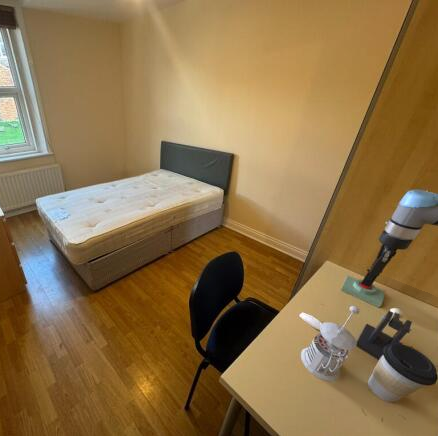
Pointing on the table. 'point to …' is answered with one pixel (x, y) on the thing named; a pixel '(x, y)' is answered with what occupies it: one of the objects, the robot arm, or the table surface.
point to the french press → (329, 350)
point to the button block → (363, 291)
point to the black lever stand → (380, 336)
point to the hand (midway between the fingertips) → (365, 284)
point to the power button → (365, 286)
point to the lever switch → (396, 319)
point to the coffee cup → (401, 373)
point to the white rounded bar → (311, 320)
